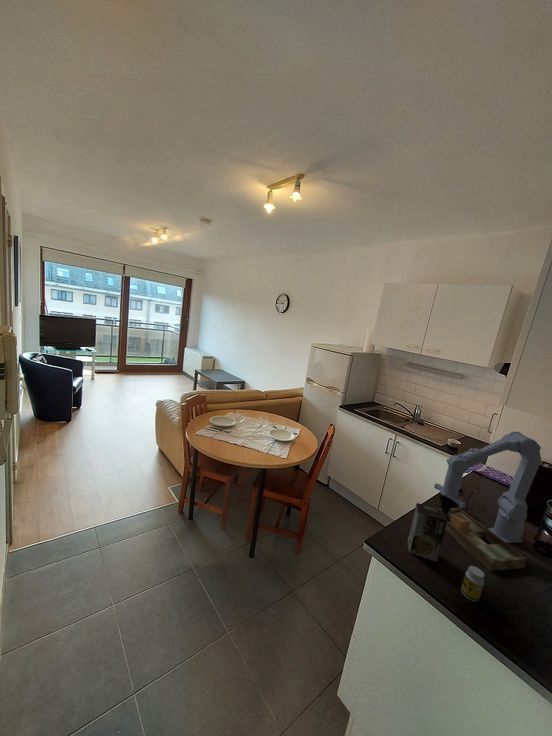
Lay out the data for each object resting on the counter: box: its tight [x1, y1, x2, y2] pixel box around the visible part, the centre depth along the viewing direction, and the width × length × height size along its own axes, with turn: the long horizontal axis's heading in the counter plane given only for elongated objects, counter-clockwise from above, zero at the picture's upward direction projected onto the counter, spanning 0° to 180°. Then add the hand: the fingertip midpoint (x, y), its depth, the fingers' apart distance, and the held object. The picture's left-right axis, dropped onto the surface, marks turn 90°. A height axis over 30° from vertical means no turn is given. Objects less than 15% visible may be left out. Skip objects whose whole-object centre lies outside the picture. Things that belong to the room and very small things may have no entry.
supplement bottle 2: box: [460, 565, 485, 602], centre depth 87 cm, size 5×5×8 cm
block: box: [449, 514, 470, 531], centre depth 116 cm, size 4×4×4 cm
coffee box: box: [407, 502, 448, 563], centre depth 102 cm, size 9×6×16 cm
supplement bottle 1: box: [452, 485, 465, 508], centre depth 134 cm, size 6×6×11 cm
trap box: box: [437, 508, 528, 572], centre depth 114 cm, size 16×28×4 cm, turn 14°
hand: (444, 512), depth 123 cm, fingers closed
